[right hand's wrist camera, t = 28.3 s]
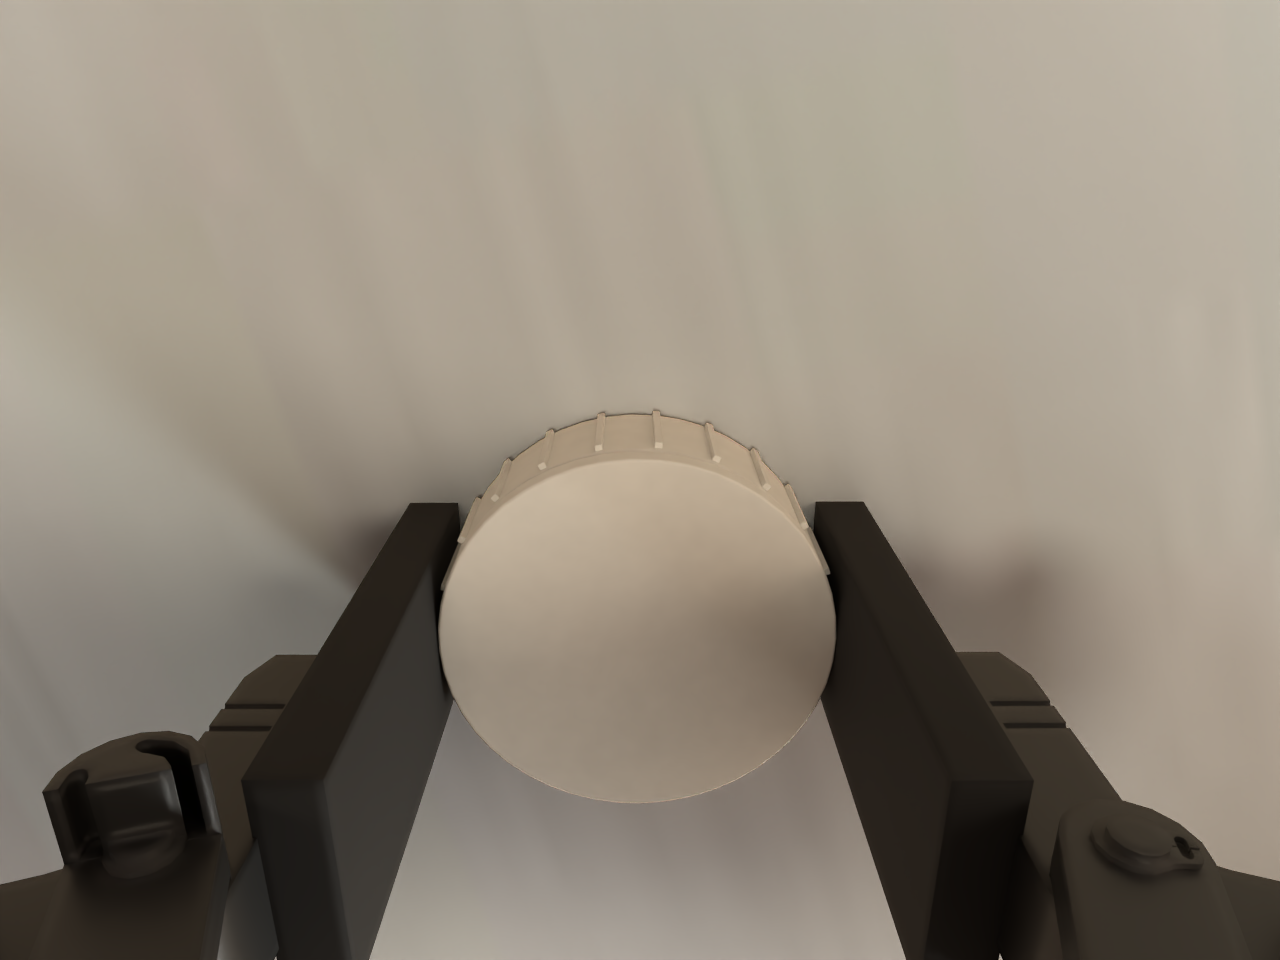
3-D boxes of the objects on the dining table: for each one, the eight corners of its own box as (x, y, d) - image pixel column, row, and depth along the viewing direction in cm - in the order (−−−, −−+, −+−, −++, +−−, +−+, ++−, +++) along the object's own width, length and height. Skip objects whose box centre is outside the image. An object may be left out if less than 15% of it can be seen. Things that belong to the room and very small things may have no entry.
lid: (844, 426, 14) (878, 474, 12) (783, 738, 16) (803, 822, 14) (464, 390, 13) (437, 434, 12) (454, 712, 16) (430, 793, 14)
